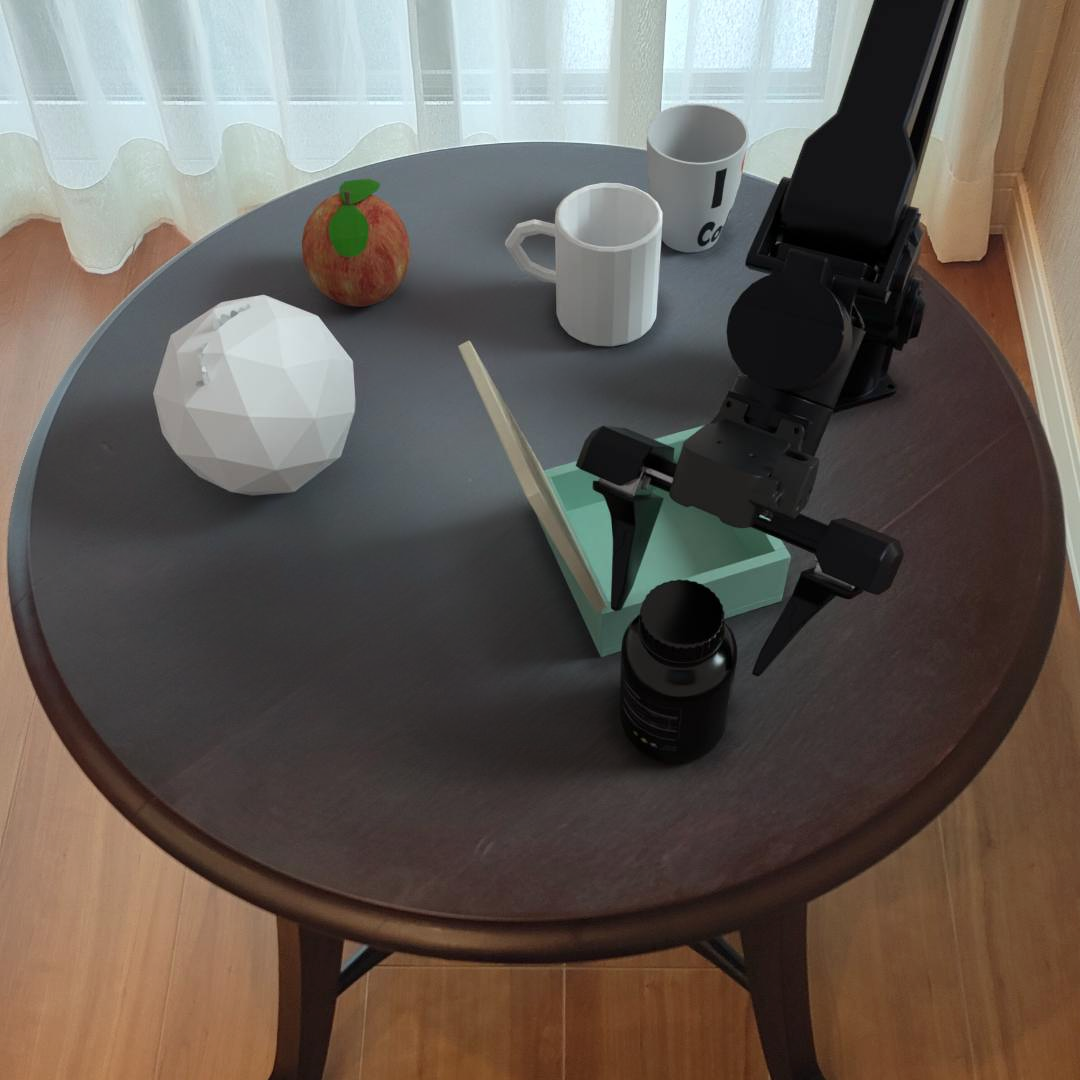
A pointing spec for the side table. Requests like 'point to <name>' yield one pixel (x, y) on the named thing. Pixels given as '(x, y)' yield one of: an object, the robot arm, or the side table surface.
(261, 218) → the side table surface
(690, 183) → the cup
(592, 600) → the lid
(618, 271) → the mug
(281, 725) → the side table surface
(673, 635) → the supplement bottle
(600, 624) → the teal shallow box
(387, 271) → the fruit
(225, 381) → the geodesic sphere
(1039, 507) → the side table surface
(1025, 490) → the side table surface
